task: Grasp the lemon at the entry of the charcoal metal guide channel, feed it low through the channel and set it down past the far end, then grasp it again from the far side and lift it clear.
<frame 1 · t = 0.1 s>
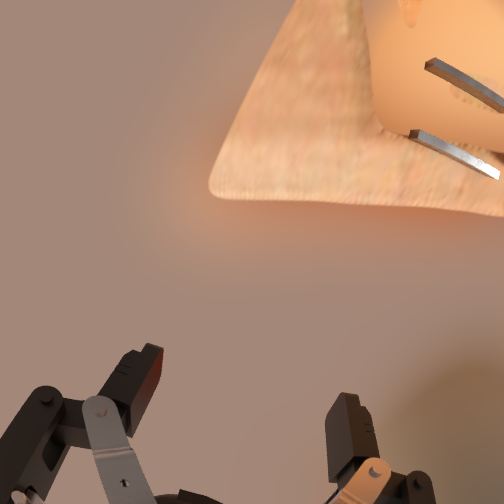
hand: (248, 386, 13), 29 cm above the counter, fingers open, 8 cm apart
guide channel: (460, 119, 32), on the counter
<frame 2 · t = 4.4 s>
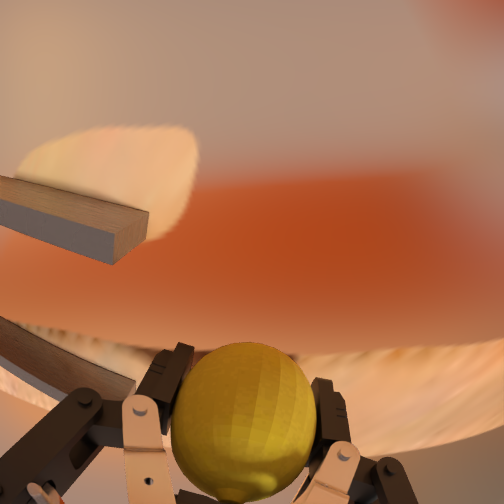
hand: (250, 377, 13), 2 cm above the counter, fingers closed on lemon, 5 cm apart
guide channel: (35, 281, 15), on the counter
lemon: (254, 354, 15), on the counter, touching gripper
when the fingers open (2 cm above the counter, at t = 11.4 s): lemon stays where it is, on the counter.
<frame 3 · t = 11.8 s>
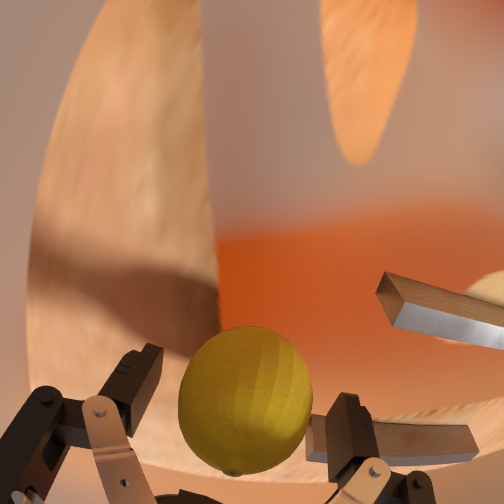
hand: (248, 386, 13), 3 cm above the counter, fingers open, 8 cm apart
guide channel: (437, 378, 16), on the counter
lemon: (255, 340, 16), on the counter
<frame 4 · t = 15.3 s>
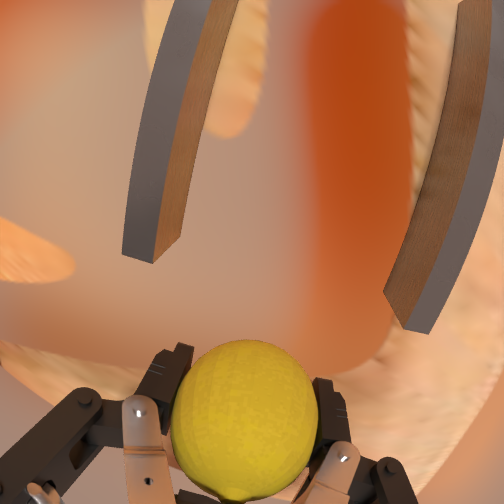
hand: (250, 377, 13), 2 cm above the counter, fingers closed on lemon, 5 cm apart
guide channel: (333, 96, 10), on the counter
lemon: (255, 351, 15), on the counter, touching gripper
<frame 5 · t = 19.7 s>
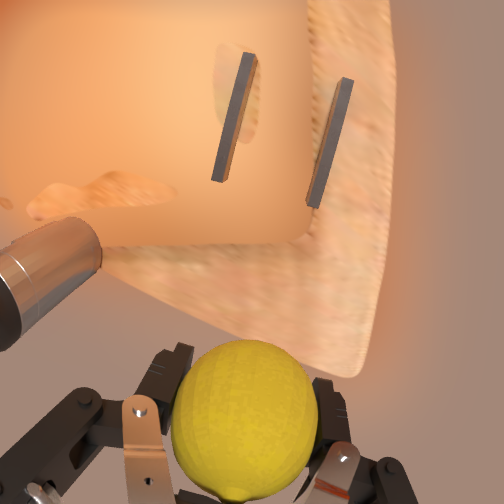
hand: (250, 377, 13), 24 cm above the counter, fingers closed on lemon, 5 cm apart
guide channel: (282, 128, 32), on the counter
lemon: (255, 351, 15), point 23 cm above the counter, touching gripper
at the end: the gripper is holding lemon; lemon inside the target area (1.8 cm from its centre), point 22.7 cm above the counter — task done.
